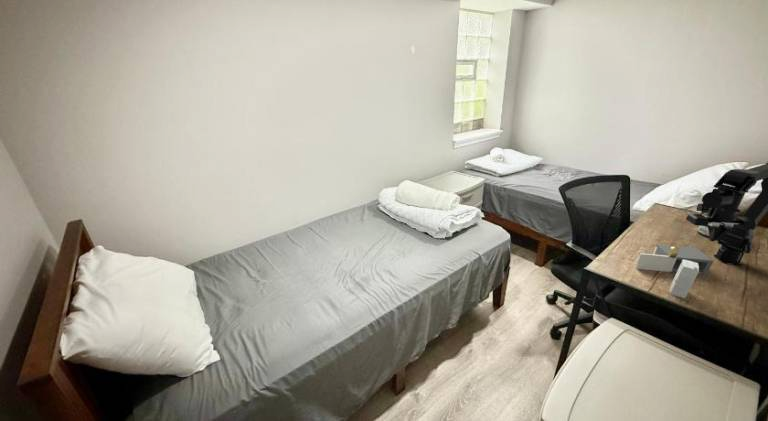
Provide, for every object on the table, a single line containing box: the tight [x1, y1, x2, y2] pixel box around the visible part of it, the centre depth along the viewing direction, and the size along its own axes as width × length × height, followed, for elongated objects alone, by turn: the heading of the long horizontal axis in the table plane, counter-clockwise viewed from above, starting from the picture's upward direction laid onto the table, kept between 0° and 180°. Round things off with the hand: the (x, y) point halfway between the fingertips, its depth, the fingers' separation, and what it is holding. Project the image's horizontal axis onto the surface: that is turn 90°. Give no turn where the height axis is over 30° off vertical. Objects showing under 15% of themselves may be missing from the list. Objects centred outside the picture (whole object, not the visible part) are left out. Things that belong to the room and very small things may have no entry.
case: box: [652, 243, 714, 276], centre depth 126 cm, size 14×10×6 cm
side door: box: [635, 245, 680, 273], centre depth 123 cm, size 12×2×11 cm, turn 76°
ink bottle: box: [697, 215, 719, 240], centre depth 148 cm, size 10×9×12 cm
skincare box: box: [669, 260, 699, 299], centre depth 110 cm, size 6×4×12 cm
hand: (711, 240), depth 122 cm, fingers closed
